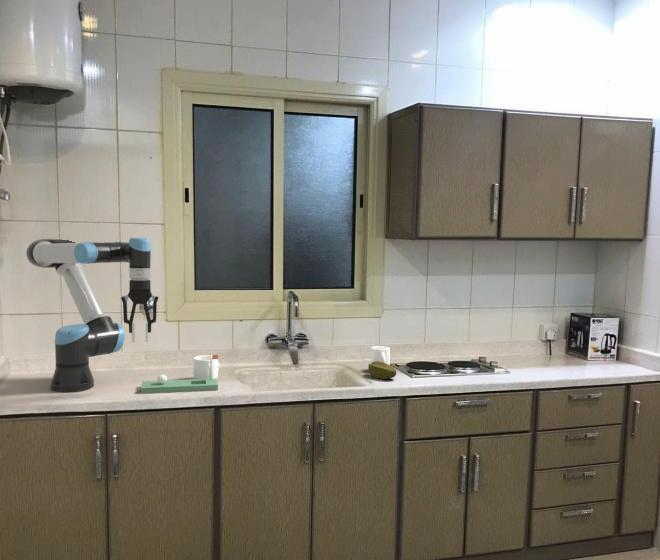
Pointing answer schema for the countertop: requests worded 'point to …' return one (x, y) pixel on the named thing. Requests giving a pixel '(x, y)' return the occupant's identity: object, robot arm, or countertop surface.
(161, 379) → the ball
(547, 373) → the countertop surface
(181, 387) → the green
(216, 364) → the mug
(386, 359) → the mug
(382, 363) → the fruit
